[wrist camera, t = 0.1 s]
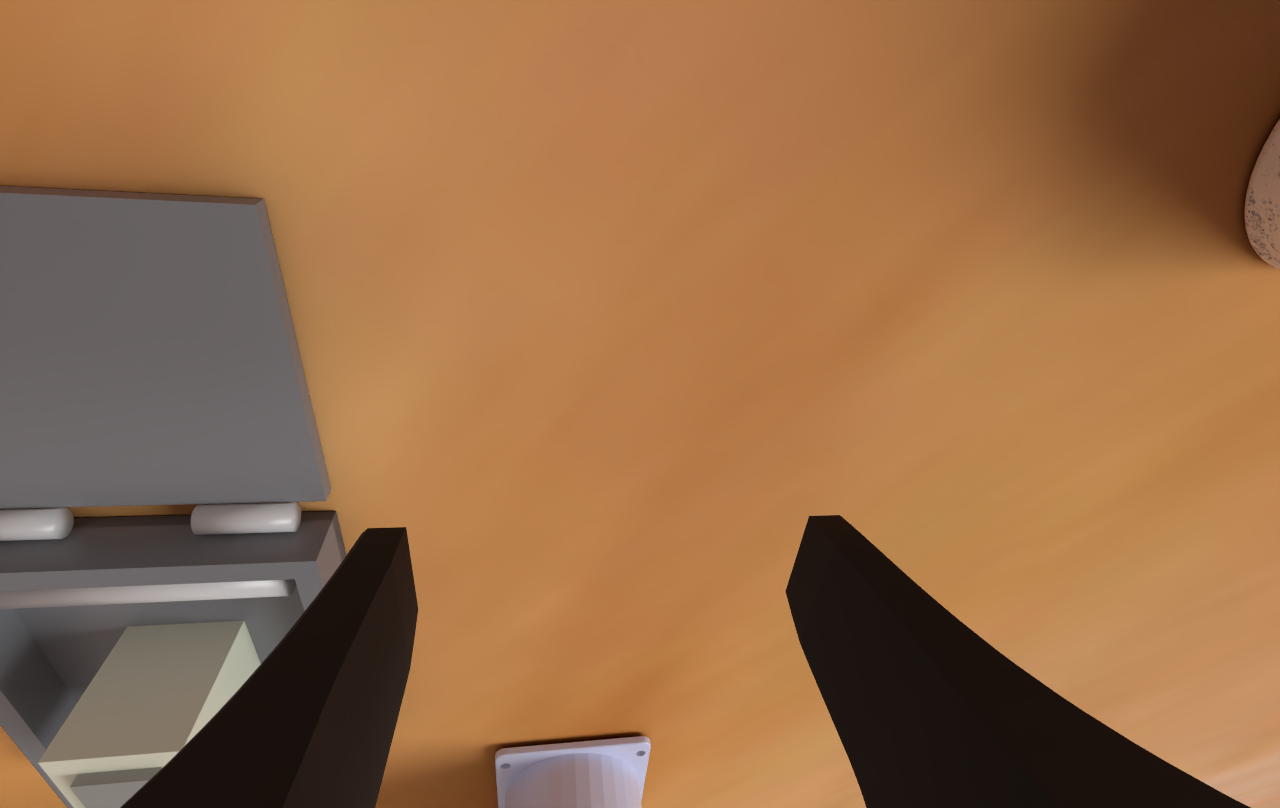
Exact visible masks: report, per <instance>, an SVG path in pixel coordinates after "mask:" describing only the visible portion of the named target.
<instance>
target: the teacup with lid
mask: <svg viewBox="0 0 1280 808" xmlns="http://www.w3.org/2000/svg"><path fill="white" fill-rule="evenodd" d="M1244 218H1245V227H1246V231H1247V235H1248V239H1249V241H1250V243H1251V245H1252V247H1253V248H1254V250H1255V251H1256V253H1257V254H1258V255H1259V256H1260V257H1261V258H1262V259H1263V260H1264V261H1265V262H1267V263H1268V264H1269V265H1271V266H1273V267H1275V268H1277V269H1279V270H1280V119H1279V120H1278V122H1277V124H1276V125H1275V127H1274V128H1273V130H1272V132H1271V133H1270V135H1269V137H1268V139H1267V141H1266V142H1265V144H1264V146H1263V148H1262V150H1261V152H1260V155H1259V157H1258V159H1257V161H1256V164H1255V166H1254V169H1253V172H1252V175H1251V178H1250V181H1249V185H1248V189H1247V193H1246V200H1245V214H1244Z"/></svg>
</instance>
